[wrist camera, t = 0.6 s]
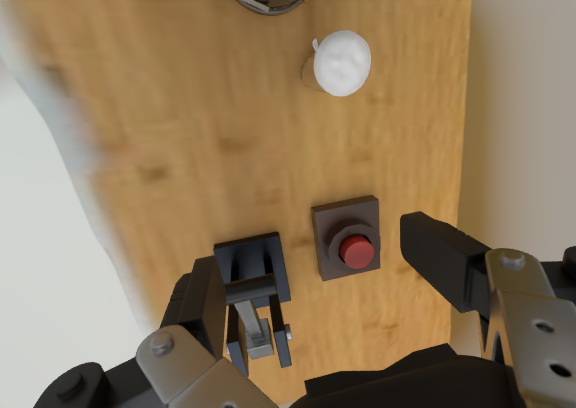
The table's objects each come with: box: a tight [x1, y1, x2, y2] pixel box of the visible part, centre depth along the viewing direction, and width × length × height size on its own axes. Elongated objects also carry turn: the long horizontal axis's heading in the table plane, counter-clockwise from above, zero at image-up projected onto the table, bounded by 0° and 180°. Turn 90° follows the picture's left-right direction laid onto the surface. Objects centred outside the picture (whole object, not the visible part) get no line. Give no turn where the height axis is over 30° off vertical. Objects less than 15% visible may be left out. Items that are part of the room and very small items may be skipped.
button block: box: [311, 195, 380, 281], centre depth 35 cm, size 10×8×4 cm
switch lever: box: [224, 273, 277, 360], centre depth 23 cm, size 12×5×2 cm, turn 9°
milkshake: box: [301, 30, 371, 96], centre depth 24 cm, size 4×5×10 cm
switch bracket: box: [213, 232, 292, 377], centre depth 30 cm, size 10×8×13 cm
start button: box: [340, 235, 374, 269], centre depth 33 cm, size 4×4×2 cm
